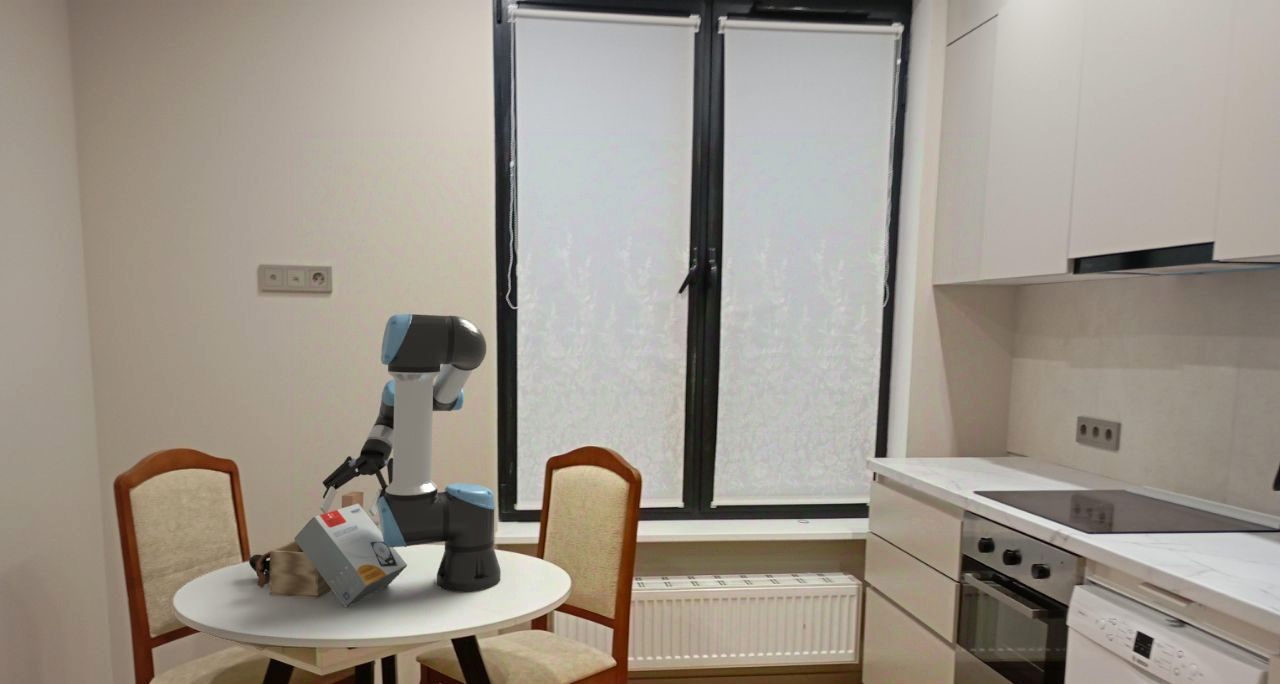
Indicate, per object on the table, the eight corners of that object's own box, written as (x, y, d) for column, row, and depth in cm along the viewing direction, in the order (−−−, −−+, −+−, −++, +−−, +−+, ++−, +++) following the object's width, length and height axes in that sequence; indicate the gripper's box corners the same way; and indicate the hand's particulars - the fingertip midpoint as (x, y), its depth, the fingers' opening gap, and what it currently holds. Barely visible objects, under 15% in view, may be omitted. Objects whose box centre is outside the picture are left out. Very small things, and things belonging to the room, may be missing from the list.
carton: (353, 577, 163) (353, 536, 163) (317, 598, 149) (318, 554, 149) (308, 574, 165) (309, 534, 165) (269, 595, 151) (270, 551, 151)
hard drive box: (367, 586, 142) (311, 517, 146) (345, 609, 143) (291, 540, 147) (409, 564, 157) (358, 502, 161) (389, 585, 158) (338, 523, 162)
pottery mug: (305, 575, 165) (304, 552, 161) (279, 605, 157) (277, 581, 153) (262, 561, 167) (259, 537, 163) (234, 589, 158) (230, 565, 154)
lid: (379, 524, 175) (380, 492, 175) (347, 539, 160) (348, 505, 160) (335, 521, 176) (336, 490, 176) (300, 537, 162) (301, 503, 162)
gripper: (425, 455, 187) (397, 521, 172) (343, 452, 190) (309, 517, 175) (416, 438, 181) (387, 506, 166) (332, 435, 185) (296, 501, 170)
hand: (347, 512), depth 171 cm, fingers open, 13 cm apart
